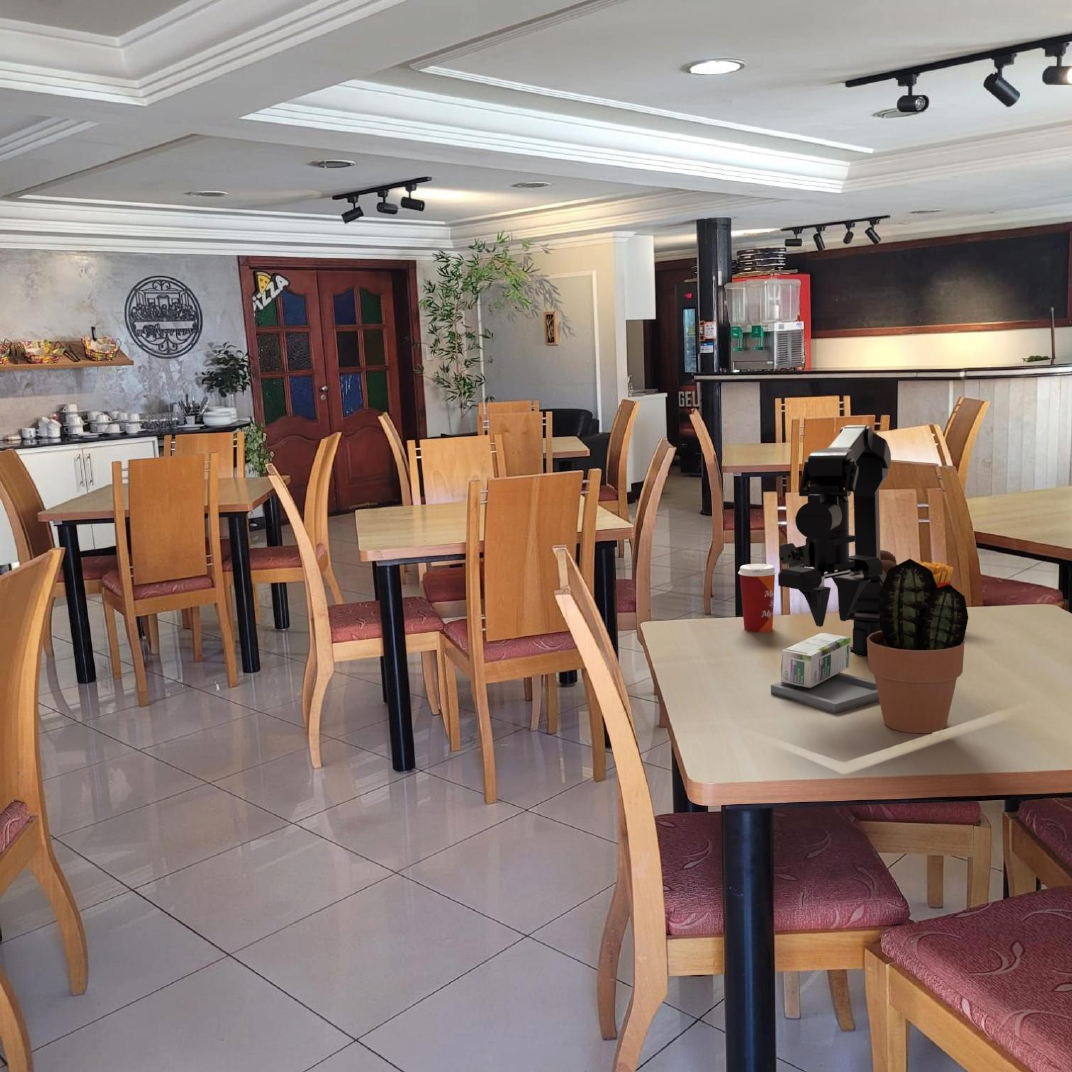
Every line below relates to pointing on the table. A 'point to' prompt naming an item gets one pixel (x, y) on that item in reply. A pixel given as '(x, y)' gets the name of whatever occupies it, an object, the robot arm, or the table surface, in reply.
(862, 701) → the serving tray
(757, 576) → the paper cup
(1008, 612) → the table surface
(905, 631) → the potted plant
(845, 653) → the syrup box
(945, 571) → the french fries
